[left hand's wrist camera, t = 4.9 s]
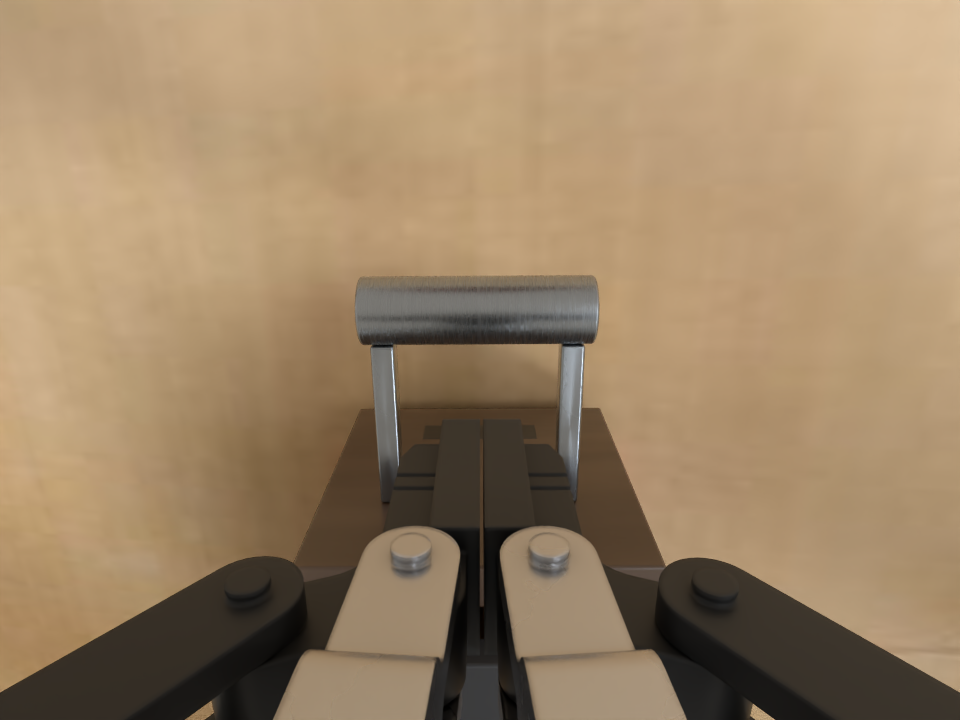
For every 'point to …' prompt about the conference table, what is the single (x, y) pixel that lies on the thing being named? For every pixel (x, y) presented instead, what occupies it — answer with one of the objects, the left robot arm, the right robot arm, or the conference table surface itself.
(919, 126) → the conference table surface
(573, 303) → the drawer
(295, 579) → the left robot arm
